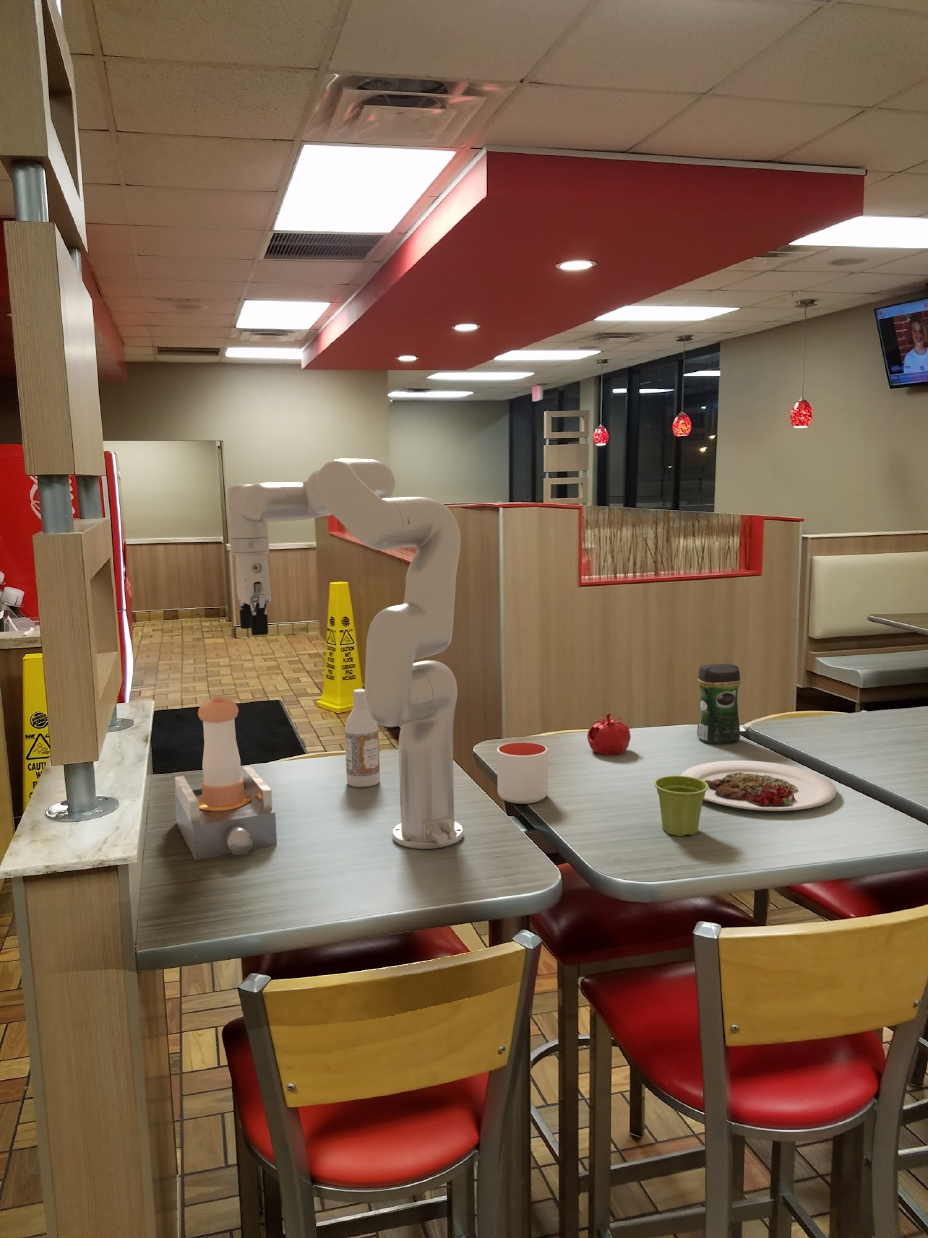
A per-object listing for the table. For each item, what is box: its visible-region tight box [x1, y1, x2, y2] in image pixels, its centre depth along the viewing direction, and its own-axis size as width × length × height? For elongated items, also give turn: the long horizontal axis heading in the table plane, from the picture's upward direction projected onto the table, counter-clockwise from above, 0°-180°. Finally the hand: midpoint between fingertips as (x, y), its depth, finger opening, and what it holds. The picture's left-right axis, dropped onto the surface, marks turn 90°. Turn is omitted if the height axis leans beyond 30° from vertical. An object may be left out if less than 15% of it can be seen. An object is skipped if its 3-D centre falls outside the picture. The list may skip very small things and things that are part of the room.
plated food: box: [679, 760, 837, 812], centre depth 186 cm, size 30×30×3 cm
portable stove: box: [174, 765, 278, 861], centre depth 166 cm, size 24×14×10 cm, turn 26°
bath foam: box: [344, 688, 381, 788], centre depth 194 cm, size 7×7×20 cm
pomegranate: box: [586, 712, 632, 756], centre depth 215 cm, size 10×10×9 cm
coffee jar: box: [696, 662, 741, 744], centre depth 221 cm, size 10×8×19 cm
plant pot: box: [653, 775, 708, 837], centre depth 165 cm, size 9×9×9 cm
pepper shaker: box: [197, 695, 244, 807], centre depth 166 cm, size 7×7×19 cm
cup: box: [496, 741, 549, 805], centre depth 184 cm, size 10×10×10 cm
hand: (254, 631), depth 188 cm, fingers open, 9 cm apart
